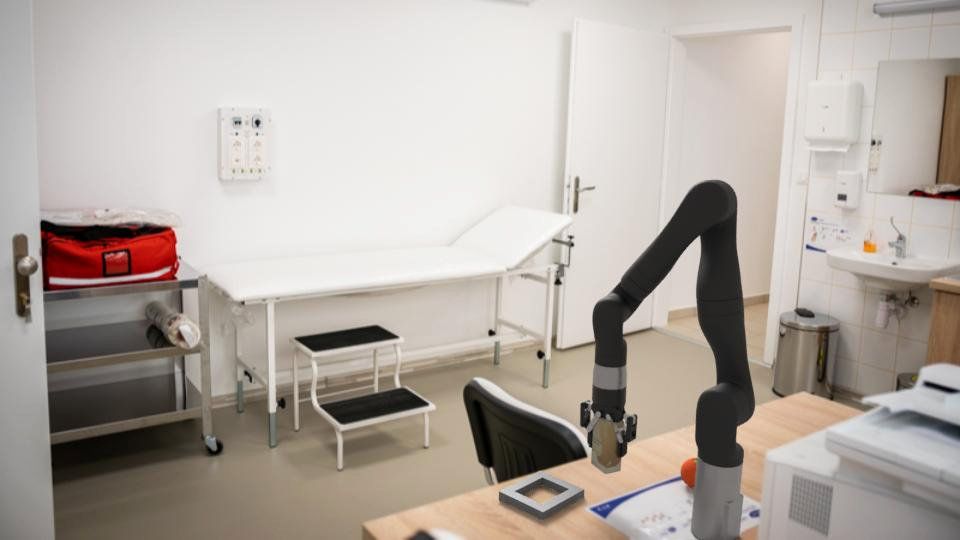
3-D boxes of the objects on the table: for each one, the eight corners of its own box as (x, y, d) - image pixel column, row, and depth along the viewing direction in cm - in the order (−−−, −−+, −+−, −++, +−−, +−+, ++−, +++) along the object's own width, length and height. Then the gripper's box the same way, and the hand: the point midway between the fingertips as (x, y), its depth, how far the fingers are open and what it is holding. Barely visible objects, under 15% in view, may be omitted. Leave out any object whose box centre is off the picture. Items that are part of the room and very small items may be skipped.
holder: (584, 497, 183) (584, 489, 183) (542, 520, 173) (543, 512, 172) (540, 478, 192) (540, 470, 192) (498, 499, 181) (499, 491, 181)
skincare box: (590, 463, 183) (592, 413, 180) (605, 460, 184) (608, 410, 182) (606, 475, 177) (608, 423, 174) (622, 471, 179) (624, 420, 176)
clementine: (717, 493, 187) (720, 465, 185) (691, 497, 185) (694, 468, 183) (698, 478, 194) (701, 451, 193) (673, 481, 192) (676, 454, 191)
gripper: (646, 386, 175) (642, 456, 178) (592, 371, 184) (590, 438, 187) (627, 394, 169) (624, 466, 172) (573, 378, 179) (571, 447, 182)
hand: (606, 451), depth 180 cm, fingers closed on skincare box, 7 cm apart
